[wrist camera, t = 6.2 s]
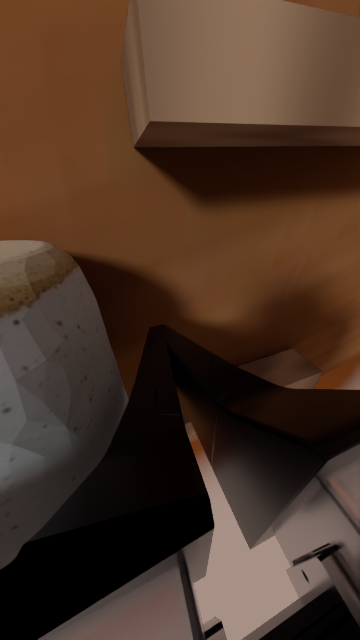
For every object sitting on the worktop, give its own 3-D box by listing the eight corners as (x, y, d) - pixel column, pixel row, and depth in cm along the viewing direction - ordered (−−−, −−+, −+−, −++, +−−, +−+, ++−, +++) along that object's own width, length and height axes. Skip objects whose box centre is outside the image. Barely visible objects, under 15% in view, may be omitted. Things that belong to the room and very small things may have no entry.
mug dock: (387, 87, 9) (492, 46, 6) (287, 363, 19) (314, 387, 16) (121, 60, 6) (134, -33, 4) (170, 404, 16) (182, 440, 13)
